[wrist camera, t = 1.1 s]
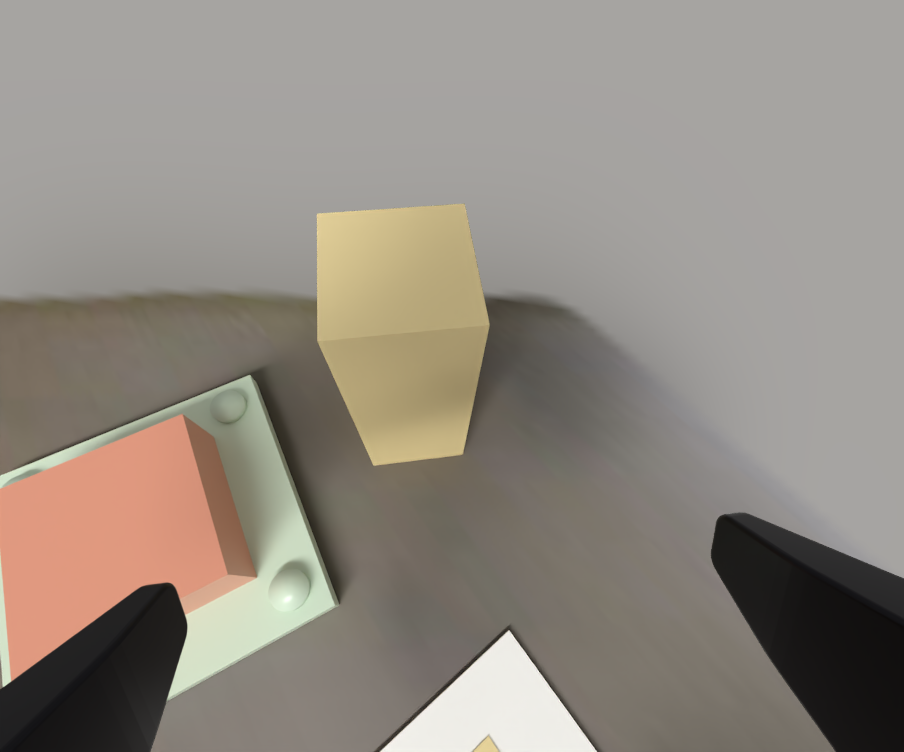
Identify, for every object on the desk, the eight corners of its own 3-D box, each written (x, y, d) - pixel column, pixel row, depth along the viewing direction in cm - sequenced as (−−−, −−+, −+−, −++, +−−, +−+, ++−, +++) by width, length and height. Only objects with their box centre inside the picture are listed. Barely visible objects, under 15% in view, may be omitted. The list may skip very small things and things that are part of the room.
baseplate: (339, 605, 19) (317, 607, 16) (33, 775, 16) (-78, 824, 13) (256, 382, 24) (225, 345, 20) (6, 486, 21) (-82, 463, 17)
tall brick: (462, 454, 23) (489, 325, 12) (373, 465, 22) (317, 341, 11) (450, 376, 24) (464, 203, 14) (368, 384, 24) (316, 213, 13)
